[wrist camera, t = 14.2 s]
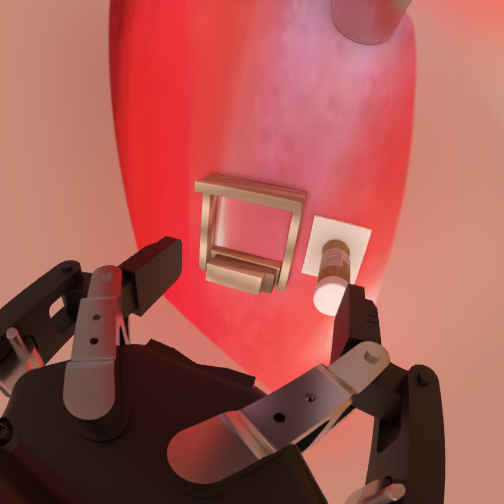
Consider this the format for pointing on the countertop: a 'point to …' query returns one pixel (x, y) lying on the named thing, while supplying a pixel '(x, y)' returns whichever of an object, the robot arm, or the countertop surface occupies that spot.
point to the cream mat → (336, 230)
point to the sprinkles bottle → (332, 277)
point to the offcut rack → (238, 263)
